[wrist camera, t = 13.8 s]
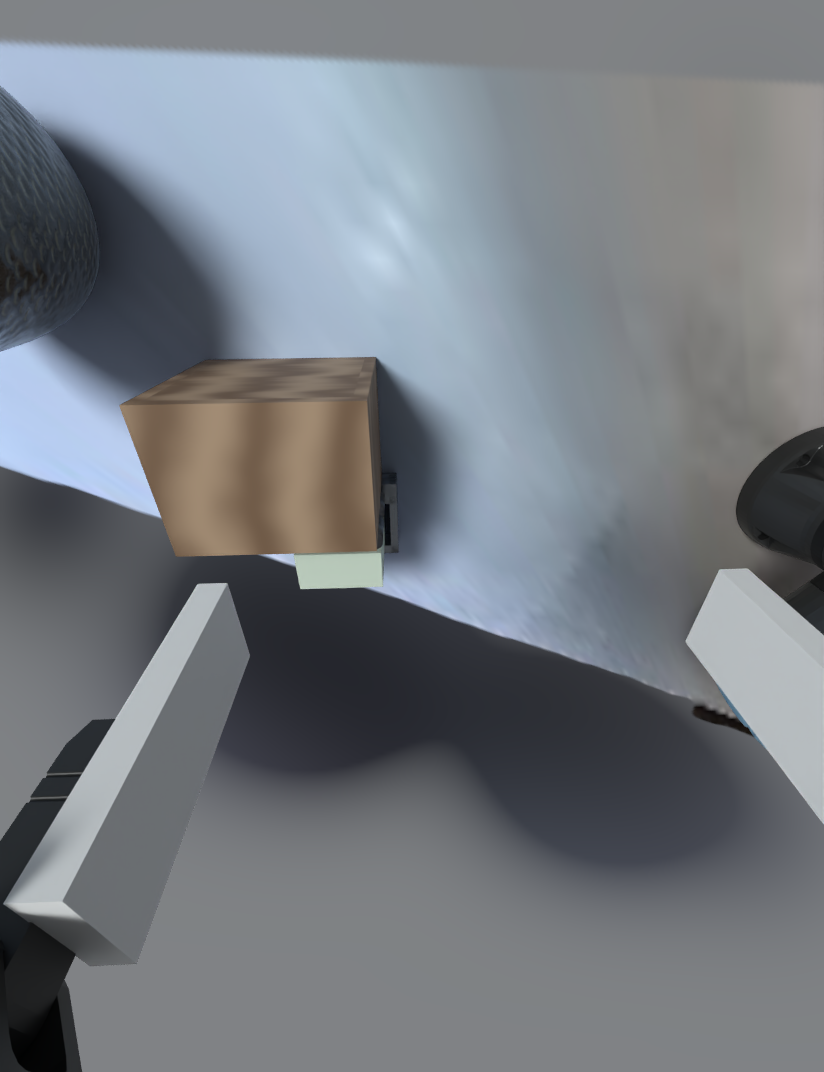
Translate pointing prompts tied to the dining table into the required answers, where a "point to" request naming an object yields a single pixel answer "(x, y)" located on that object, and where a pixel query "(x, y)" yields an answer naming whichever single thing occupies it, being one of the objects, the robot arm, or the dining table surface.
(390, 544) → the grey drawer
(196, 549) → the wood-grain box
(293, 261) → the dining table surface
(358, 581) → the pale green block
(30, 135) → the planter
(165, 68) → the dining table surface
